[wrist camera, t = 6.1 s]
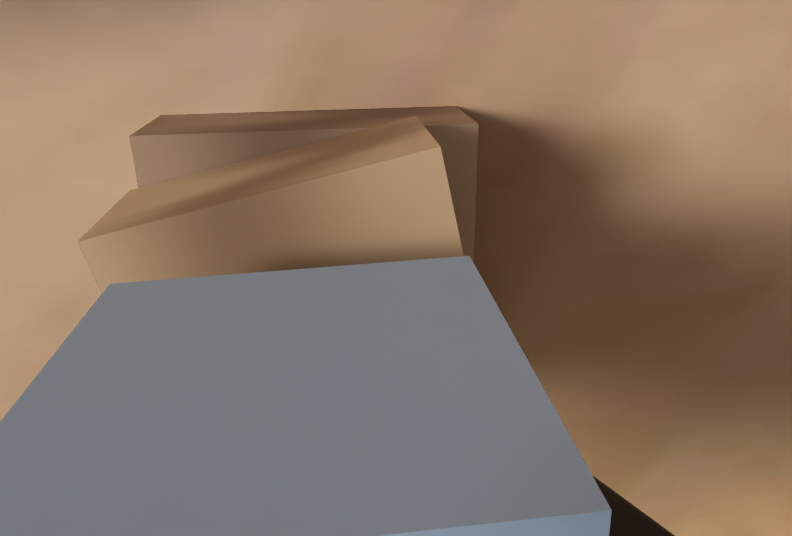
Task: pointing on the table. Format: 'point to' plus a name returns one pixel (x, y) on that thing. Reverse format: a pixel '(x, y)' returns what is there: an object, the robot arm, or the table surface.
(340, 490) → the blue cube
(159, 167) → the lower slab
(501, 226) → the table surface
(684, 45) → the table surface
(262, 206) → the upper slab
